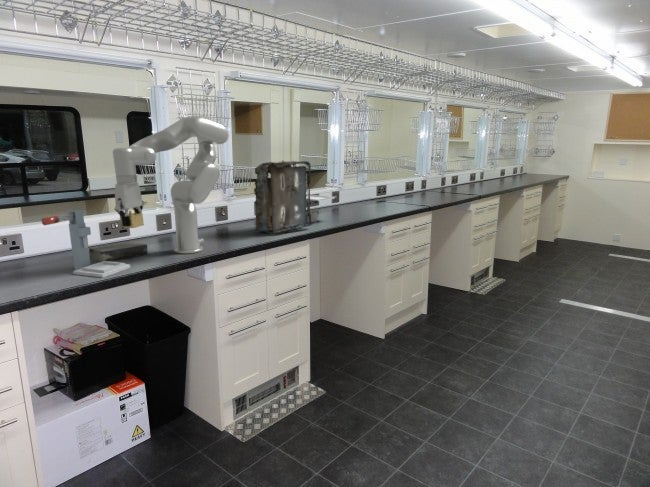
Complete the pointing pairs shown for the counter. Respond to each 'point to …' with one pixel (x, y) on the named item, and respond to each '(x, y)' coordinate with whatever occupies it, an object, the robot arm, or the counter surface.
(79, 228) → the press
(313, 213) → the solar panel model
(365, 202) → the counter surface
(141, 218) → the housing
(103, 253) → the stone block
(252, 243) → the counter surface
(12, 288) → the counter surface
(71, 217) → the lever
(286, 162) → the machinery component
